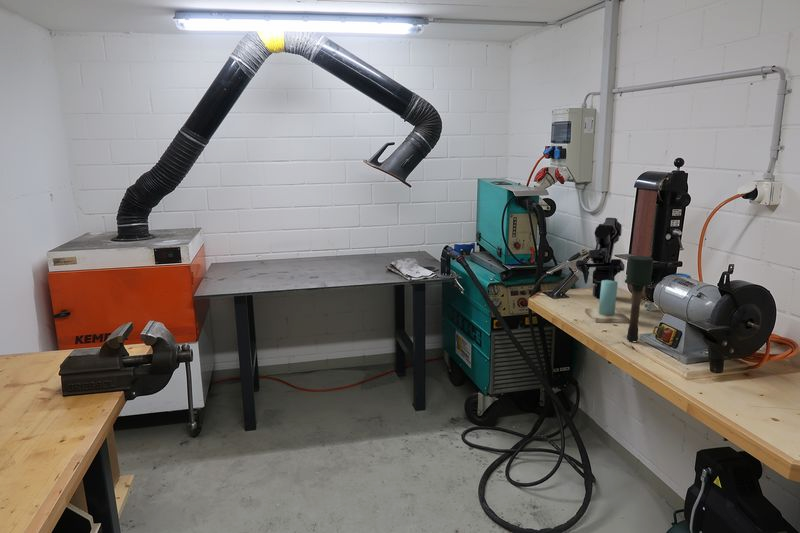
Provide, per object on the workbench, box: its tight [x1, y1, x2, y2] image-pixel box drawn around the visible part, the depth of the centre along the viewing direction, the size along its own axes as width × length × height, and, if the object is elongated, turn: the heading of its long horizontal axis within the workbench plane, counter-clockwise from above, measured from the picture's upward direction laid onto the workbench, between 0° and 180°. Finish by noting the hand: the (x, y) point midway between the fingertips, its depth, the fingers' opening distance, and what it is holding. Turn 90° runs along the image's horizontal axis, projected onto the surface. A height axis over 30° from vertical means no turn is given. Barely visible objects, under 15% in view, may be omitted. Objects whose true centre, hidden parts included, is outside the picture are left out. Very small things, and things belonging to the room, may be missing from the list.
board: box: [584, 308, 630, 323], centre depth 214 cm, size 13×13×2 cm
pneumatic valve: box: [641, 298, 658, 312], centre depth 222 cm, size 6×12×12 cm, turn 105°
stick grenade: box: [624, 255, 654, 342], centre depth 185 cm, size 8×9×30 cm
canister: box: [598, 280, 618, 316], centre depth 213 cm, size 6×6×13 cm
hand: (596, 283), depth 222 cm, fingers open, 9 cm apart
